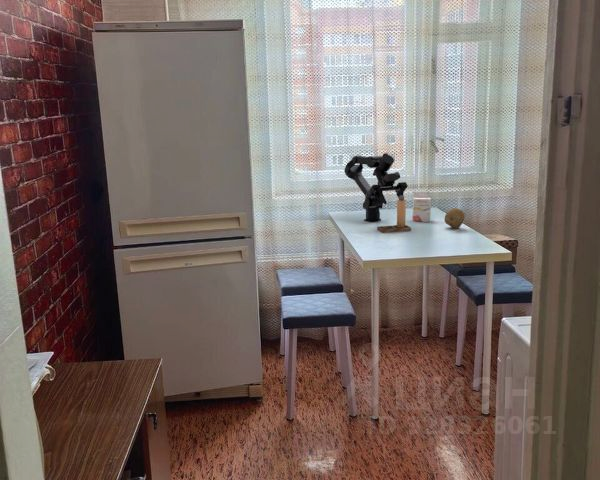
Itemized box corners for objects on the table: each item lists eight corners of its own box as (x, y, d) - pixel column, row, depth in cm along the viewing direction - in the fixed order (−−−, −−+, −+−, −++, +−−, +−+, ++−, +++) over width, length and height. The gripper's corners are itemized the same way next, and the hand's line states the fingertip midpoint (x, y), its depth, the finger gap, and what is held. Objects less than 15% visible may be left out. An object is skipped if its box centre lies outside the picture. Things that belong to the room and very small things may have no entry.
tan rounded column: (394, 229, 292) (395, 196, 289) (399, 228, 295) (400, 195, 291) (402, 231, 290) (402, 197, 286) (407, 229, 292) (407, 195, 289)
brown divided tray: (382, 234, 287) (382, 229, 286) (377, 230, 294) (377, 226, 293) (410, 231, 290) (411, 227, 290) (405, 228, 297) (405, 224, 296)
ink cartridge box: (413, 222, 311) (413, 192, 308) (412, 220, 316) (412, 191, 312) (430, 222, 310) (431, 192, 307) (429, 219, 315) (430, 191, 311)
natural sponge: (449, 231, 288) (450, 210, 286) (440, 227, 297) (441, 207, 294) (467, 230, 291) (468, 209, 288) (457, 226, 299) (458, 205, 297)
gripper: (371, 167, 292) (383, 194, 285) (405, 165, 299) (418, 191, 292) (363, 182, 301) (375, 208, 294) (397, 179, 308) (408, 205, 301)
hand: (394, 203), depth 295 cm, fingers open, 9 cm apart
